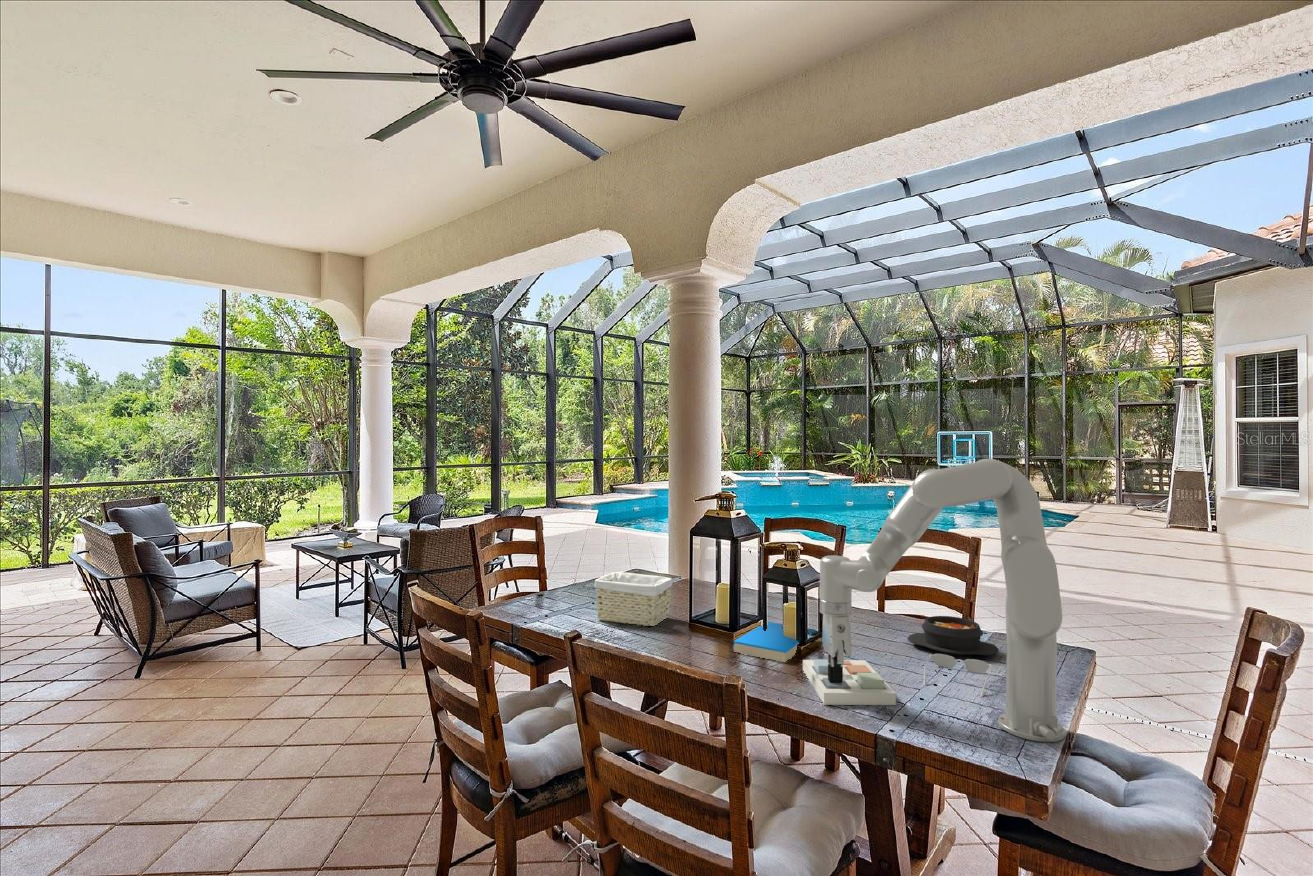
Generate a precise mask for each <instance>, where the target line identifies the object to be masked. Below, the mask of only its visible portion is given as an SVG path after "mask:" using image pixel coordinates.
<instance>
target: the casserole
mask: <svg viewBox="0 0 1313 876" xmlns="http://www.w3.org/2000/svg"><path fill="white" fill-rule="evenodd" d="M921 628H922V630H923V632H916V633H912V634H910V635H909V636H908V637H907V640H908V642H910V643H911V644H914V645H917V646H920V647H925V648H928V649H931V650H933V651H935V652H938V653H940V654H943V655H948V656H970V655H978V656H992V655H995V654H997V653H998V652H999V651H1000V650H999V648H998V647H997V646H996V645H995V644H992V643H990V642H987V641H982V640H981V637H982V636H983V635H984V632H983V630H982V629H981V626H980V625H979V623H978V622H975V621H974V620H971V619H968V618H967V619H966V618H963V617H959V616H949V615H934V616H933V615H932V616H927V617H926V618H925V619H924V622H923V623H922V624H921Z"/></svg>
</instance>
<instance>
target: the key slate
mask: <svg viewBox="0 0 1313 876" xmlns="http://www.w3.org/2000/svg"><path fill="white" fill-rule="evenodd" d="M823 684H824V686H825V687H826V689H849V685H848V684H847V683H846V681H845V680H844V679H843V682H842V683H830V682H829V680H828V678H823Z"/></svg>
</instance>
